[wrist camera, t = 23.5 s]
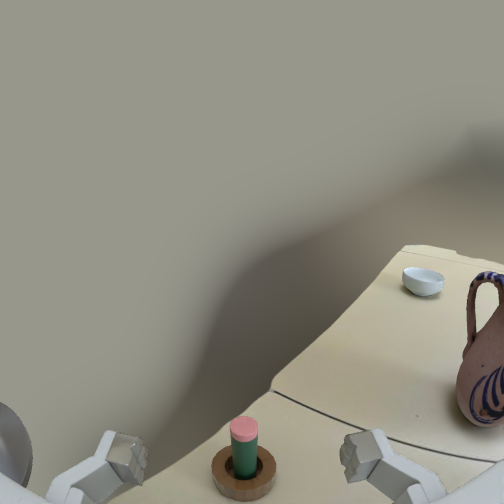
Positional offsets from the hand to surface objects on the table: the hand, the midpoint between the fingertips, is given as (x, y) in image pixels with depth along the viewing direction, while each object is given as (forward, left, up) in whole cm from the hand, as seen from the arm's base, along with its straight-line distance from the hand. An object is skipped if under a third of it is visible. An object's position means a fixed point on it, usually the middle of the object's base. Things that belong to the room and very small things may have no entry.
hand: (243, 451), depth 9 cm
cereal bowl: (+90, +33, -26) cm, 99 cm away
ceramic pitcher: (+45, -6, -26) cm, 52 cm away
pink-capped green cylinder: (+6, +11, -26) cm, 28 cm away
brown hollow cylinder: (+6, +11, -26) cm, 29 cm away
